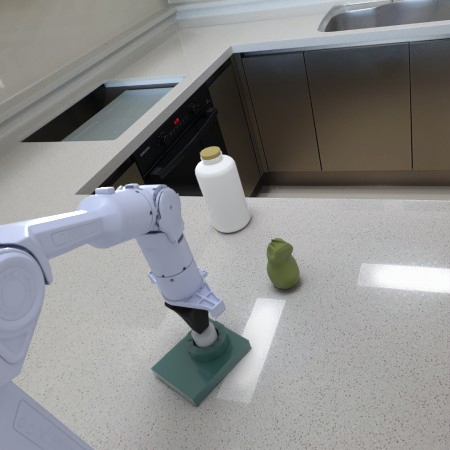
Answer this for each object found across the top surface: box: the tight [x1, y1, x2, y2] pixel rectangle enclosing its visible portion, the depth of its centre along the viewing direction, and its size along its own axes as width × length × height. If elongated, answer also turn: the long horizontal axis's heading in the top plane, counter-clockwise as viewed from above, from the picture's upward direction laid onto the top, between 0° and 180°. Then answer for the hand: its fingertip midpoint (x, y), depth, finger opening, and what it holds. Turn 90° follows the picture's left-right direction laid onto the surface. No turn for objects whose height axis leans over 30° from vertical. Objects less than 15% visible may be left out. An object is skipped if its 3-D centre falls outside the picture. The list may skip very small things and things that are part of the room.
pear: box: [266, 237, 301, 290], centre depth 80 cm, size 6×5×10 cm
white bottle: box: [194, 145, 251, 234], centre depth 96 cm, size 8×8×18 cm
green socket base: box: [150, 317, 252, 407], centre depth 71 cm, size 12×10×4 cm
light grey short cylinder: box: [191, 322, 218, 348], centre depth 71 cm, size 4×4×2 cm
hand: (201, 328), depth 70 cm, fingers closed
